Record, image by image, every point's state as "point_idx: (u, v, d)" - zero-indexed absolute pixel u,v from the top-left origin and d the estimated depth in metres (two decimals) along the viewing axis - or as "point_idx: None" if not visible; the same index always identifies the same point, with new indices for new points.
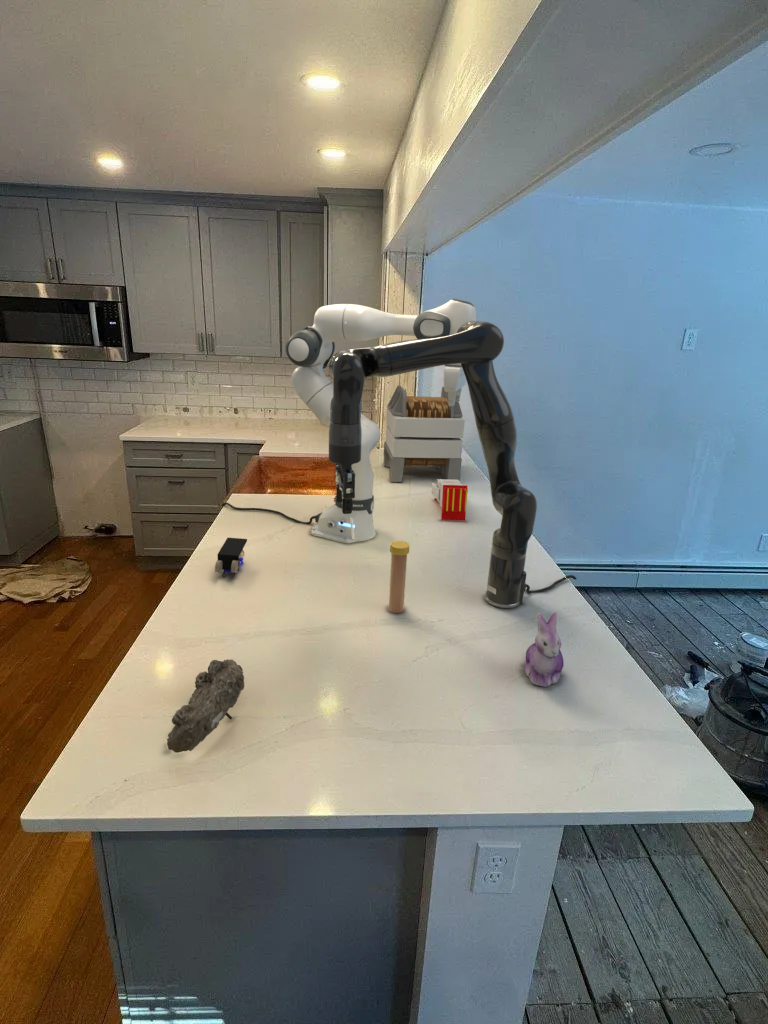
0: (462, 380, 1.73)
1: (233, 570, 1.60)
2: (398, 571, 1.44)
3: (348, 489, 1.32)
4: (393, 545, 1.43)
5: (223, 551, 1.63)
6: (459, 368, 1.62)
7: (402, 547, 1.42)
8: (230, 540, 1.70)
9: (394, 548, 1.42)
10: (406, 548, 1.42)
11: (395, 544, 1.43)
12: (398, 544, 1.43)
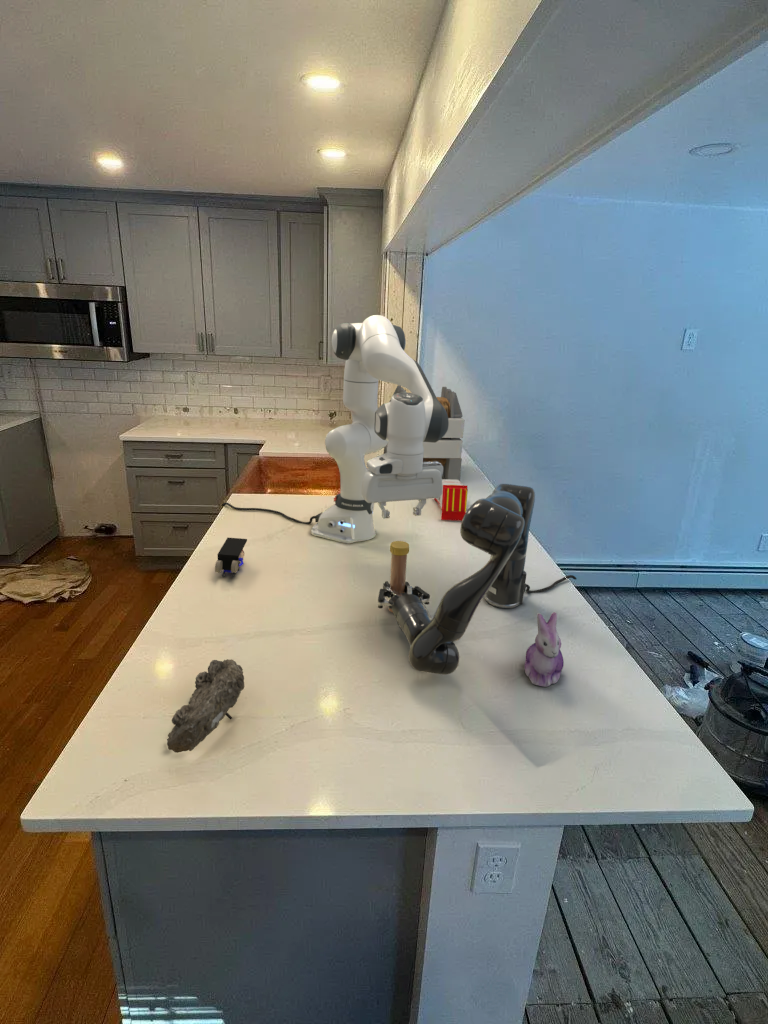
0: (410, 491, 1.37)
1: (233, 570, 1.60)
2: (398, 571, 1.44)
3: None
4: (393, 545, 1.43)
5: (223, 551, 1.63)
6: (372, 476, 1.32)
7: (402, 547, 1.42)
8: (230, 540, 1.70)
9: (394, 548, 1.42)
10: (406, 548, 1.42)
11: (395, 544, 1.43)
12: (398, 544, 1.43)
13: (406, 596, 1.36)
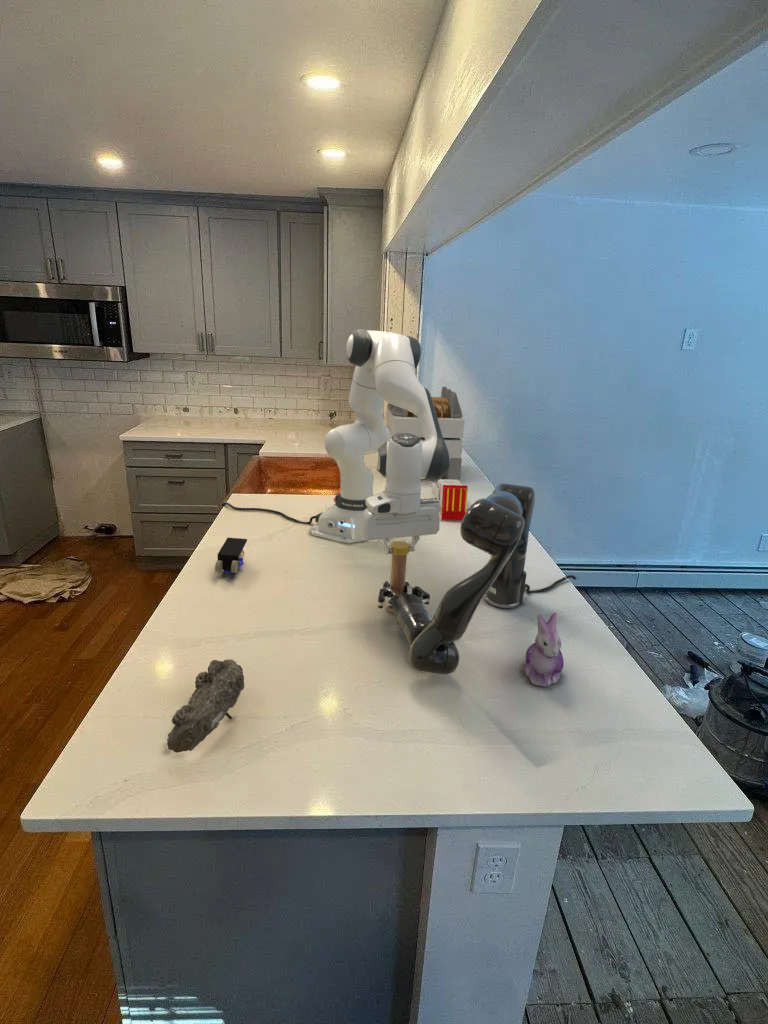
0: (408, 528, 1.41)
1: (233, 570, 1.60)
2: (398, 571, 1.44)
3: None
4: (393, 545, 1.43)
5: (223, 551, 1.63)
6: (370, 515, 1.36)
7: (402, 547, 1.42)
8: (230, 540, 1.70)
9: (394, 548, 1.42)
10: (406, 548, 1.42)
11: (395, 544, 1.43)
12: (398, 544, 1.43)
13: (406, 596, 1.36)
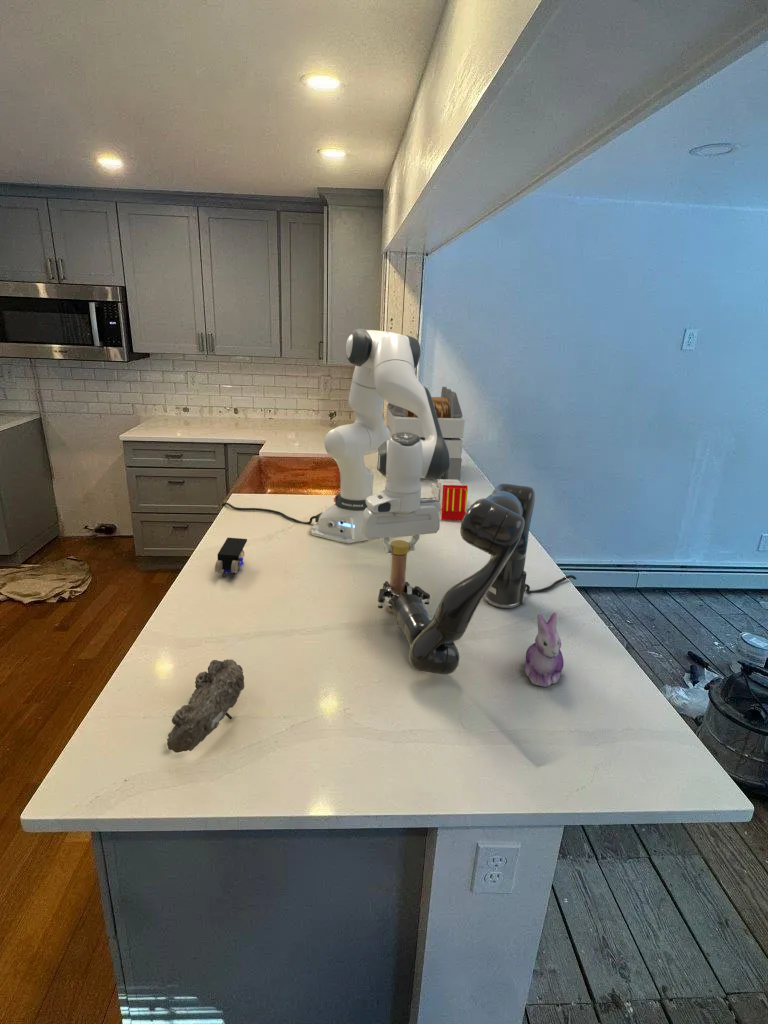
0: (408, 527, 1.41)
1: (233, 570, 1.60)
2: (398, 571, 1.44)
3: None
4: (400, 546, 1.42)
5: (223, 551, 1.63)
6: (370, 514, 1.36)
7: (407, 543, 1.43)
8: (230, 540, 1.70)
9: (405, 547, 1.42)
10: None
11: (398, 545, 1.42)
12: (399, 544, 1.43)
13: (406, 596, 1.36)
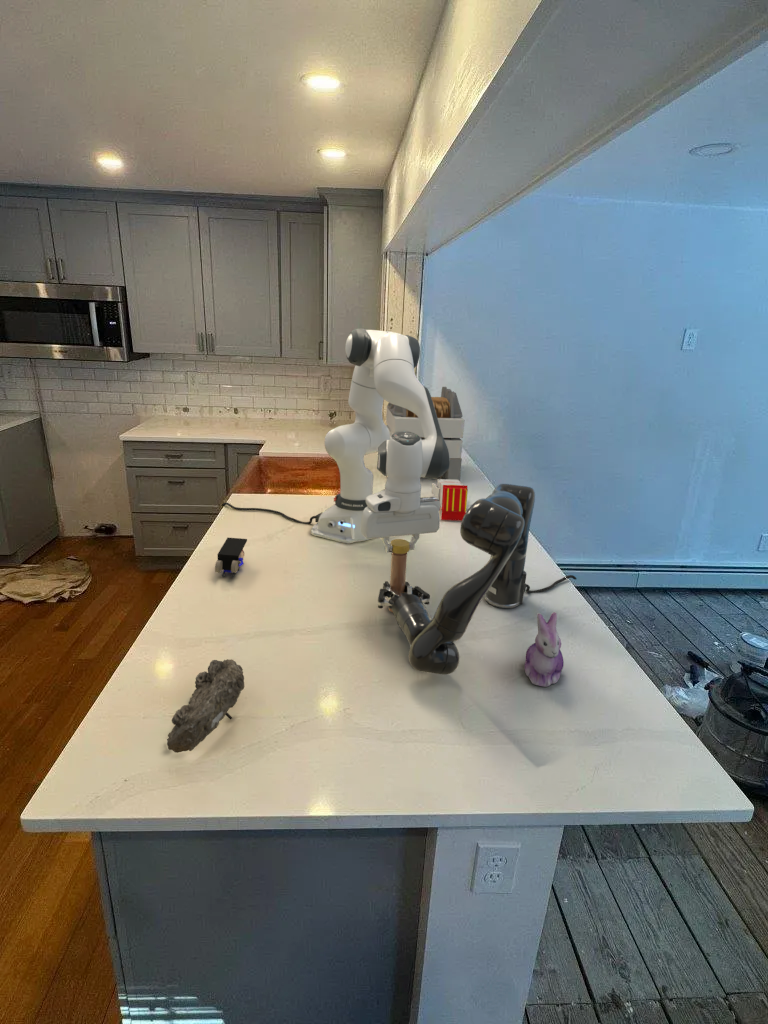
0: (408, 527, 1.41)
1: (233, 570, 1.60)
2: (398, 571, 1.44)
3: None
4: (407, 543, 1.43)
5: (223, 551, 1.63)
6: (370, 513, 1.35)
7: (402, 540, 1.45)
8: (230, 540, 1.70)
9: None
10: None
11: (403, 543, 1.43)
12: (401, 542, 1.43)
13: (406, 596, 1.36)
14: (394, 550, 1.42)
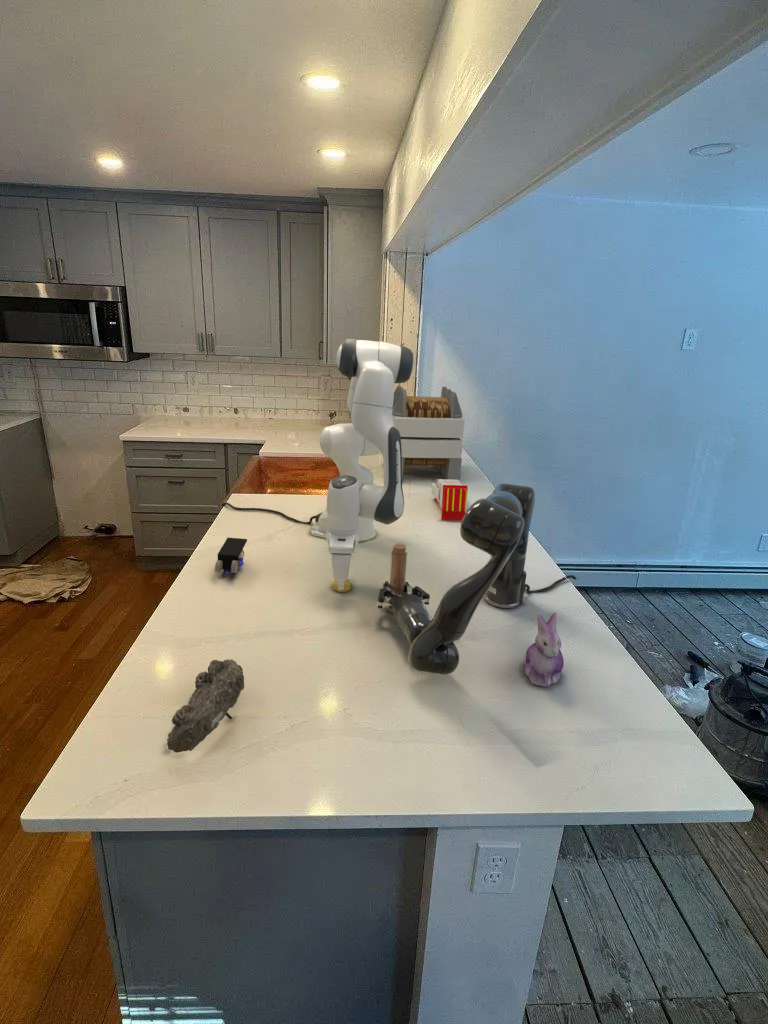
0: None
1: (233, 570, 1.60)
2: (398, 571, 1.44)
3: None
4: None
5: (223, 551, 1.63)
6: (348, 557, 1.47)
7: None
8: (230, 540, 1.70)
9: None
10: None
11: None
12: None
13: (406, 596, 1.36)
14: (346, 589, 1.58)
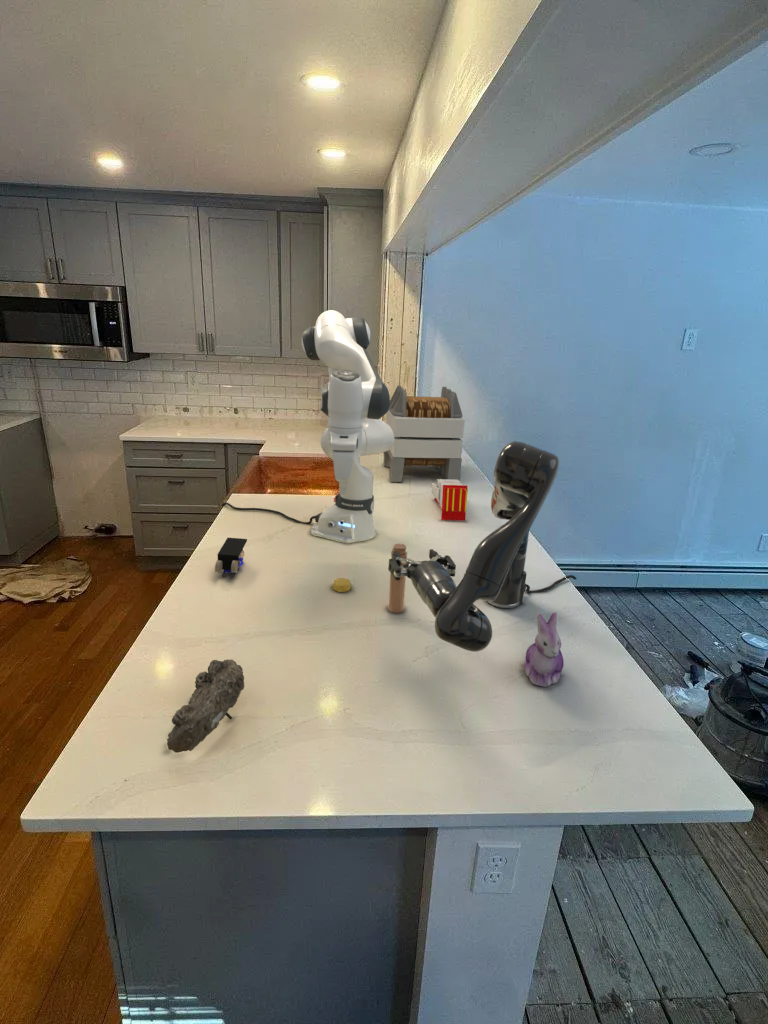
0: None
1: (233, 570, 1.60)
2: None
3: None
4: (345, 579, 1.60)
5: (223, 551, 1.63)
6: (351, 454, 1.38)
7: (336, 579, 1.60)
8: (230, 540, 1.70)
9: None
10: None
11: (345, 580, 1.60)
12: (342, 581, 1.59)
13: (427, 563, 1.19)
14: (346, 589, 1.58)
